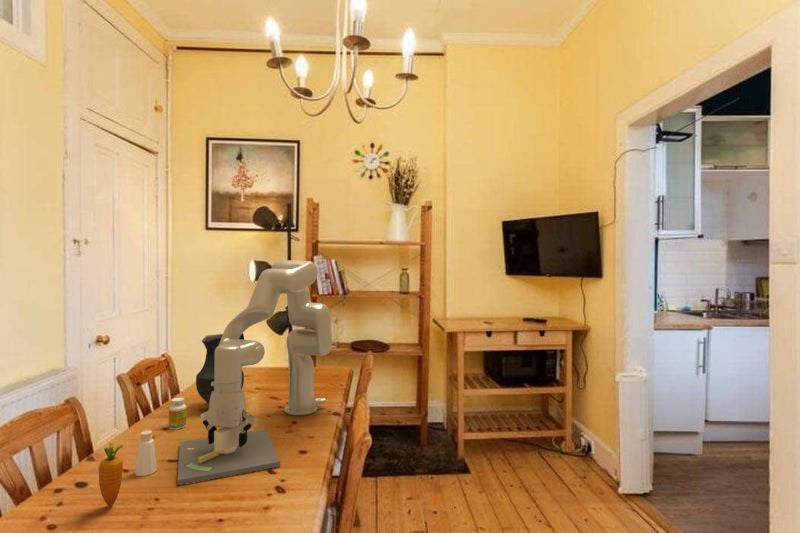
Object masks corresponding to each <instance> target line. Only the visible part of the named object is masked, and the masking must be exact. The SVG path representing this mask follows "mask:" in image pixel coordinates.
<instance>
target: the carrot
mask: <svg viewBox="0 0 800 533" xmlns="http://www.w3.org/2000/svg"><path fill="white" fill-rule="evenodd" d="M121 448H123V445H122V444H120V445H119V446H117V447H116V448H115V450H114V442H110V443H109V447H108V446H105V447H104V449H103V451H104V453H105V455H106V456H107V457H106V458H104V459H102V460H101V461H100V462H99V466H98V483H99V490H100V493H101V496H102V500H103V501H104V503H105V504H106V505H107V506H108V507H110V506H111V507H112V506H113V505H114V504H115V502H116V500H117V498H118V496H119V493H120V490H121V484H122V479H123V469H124V468H123V467H124V466H123V465H124V462H123V460H124V459H123V458H122V457H120V456H116V454H117V453H118V452H119V450H121Z"/></svg>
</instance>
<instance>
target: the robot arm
mask: <svg viewBox="0 0 800 533" xmlns="http://www.w3.org/2000/svg"><path fill="white" fill-rule="evenodd" d="M318 273H319V271H318V266H317V265H316V264H315V263H314V262H313V261H311V260H289V259H287V260H285V259H284V260H277V261H275V262H274V263H273V264H272V265H271V268H267V269H264V270H263V271H261V273H260V275H259V277H258V279H257V282H256V284H255V287H254V290H253V292H252V294H251V297H250V300H249V303H248V304H247V306H246V308H244V309H243V310H242V311H240V312H239V313H238V314H236V315H235V317H234V318H233V319H232V320H231V321H229V323H228V324H227V325H226V327H225V328H224V331H223V333H222V334H223V335H222V338H221V340H220V343H219V346H218V347H217V348H216V349H215V381H214V382H211V386H214V391H212V393H211V397H210V402H209V404H208V406H209V410H207V411H204V412H203V413H200V415H199V416H200V419H201V421H202V424H203V425H204V427H205V429H206V431H207V438H208V440H209V444H212V443H213V442H214V431H215V430H218V428H219V427H221V428H223V427H228V428H236V427H237V428H238V429H239V431H240V432H241V433H240V434H239V447H242V446H243V445H244V444H246V442H247V432H249V430H250V429H251V428H252V427H253V425H254V424H255V421H256V419H257V418H256V416H254V415H253V414H251V413H250V412H248V411H247V404H246V397H245V393H244V390H243V389H242V390H241V381H242V370H243V369H242V368H243V367H245V366H246V367H247V366H253V365H257V364H258V363H260V362H261V361H262V360H263V359H264V356H265V353H266V352H265V346H264V345H263V343H261V342H259V341H258V340H251V339H250V340H249V339H244V340H242V339H239V338H240V336H241V334H242V333H243V334H244V332H245V331H246V330H247V329H249V328H251V327H252V326H254V325H256V324H259V323H261V322H263V321H265V320H268V319H270V318H272V317H273V315H274V313H275V310H276V306H277V304H278V301H279V298H280V296H281V294H286V298H287V299H286V300H287V311H288V312H287V313H288V319H289V323H290V324H291V326H294V327H297V328H296V329H293V330H291V331H290V332H289V333H288V335H287V337H286V348H287V353H288V354H287V355H288V404H287V405H285V406H284V408H283V409H284V412H285V414H288V415H290V416H306V415H311V414H313V413H315V412H317V411H318V405H323V404H326V403H327V401H326V400H327V399H326V398H321V397H315V396H314V394H315V393H314V390H315V389H314V388H315V386H314V384H315V383H314V382H315V362H314V360H313V359H312V357H311V356H318V357H319V356H320V357H321V356H327V355H328V354H329V353H330V351H331V349H332V344H333V343H332V341H333V339H332V337H333V336H332V322H331V321H332V320H331V312H330V309H329V308H328V306H327V305H326V304H325V303H321V302H312V301H311V294H310V288H309V286H311V285H313V284H314V283H315V281H316V280H317V277H318ZM306 328H312V329H306ZM246 420H248V423H247V422H246ZM217 427H218V428H217Z"/></svg>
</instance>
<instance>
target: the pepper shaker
mask: <svg viewBox="0 0 800 533" xmlns="http://www.w3.org/2000/svg"><path fill="white" fill-rule="evenodd" d="M139 434H140V440H139V441H138V444H137V452H136V453H137V454H136V463H135V468H134V469H135V470H134V473H135V476H138V477H139V476H140V477H145V476H150V475H152V474H154V473H156V472H157V471H158V469H157V467H158V466H157V459H156V458H157V457H156V450H155V441H154V438H153V431H152V430H150V429H149V430H144V431H142V432H140V433H139Z"/></svg>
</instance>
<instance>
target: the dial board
mask: <svg viewBox="0 0 800 533" xmlns="http://www.w3.org/2000/svg"><path fill="white" fill-rule="evenodd" d="M213 451H214V442H213V443H212V444H209V440H208V437H205V438H197V439H191V440H190V439H189V440H184V441H183V440H182V441H179V449H178V463H177V464H178V465H177V466H178V468H177V484H176V485H181V486H184V485H183V484H186V485H188V484H187V483H191V484H194V483H193V482H197V483H199V482H198V481H202V482H204V481H203V480H207V481H209V480H208V479H213V478H218V479H220V478H219V477H223V478H226V477H225V476H229V477H231V476H230V475H234V476H237V475H236V474H239V475H243V474H242V473H245V474H248V473H247V472H250V473H253V472H252V471H256V472H259V471H258V470H261V471H264V470H263V469H266V470H270V469H269V468H272V469H275V468H274V467H277V468H280V467H281V461H280V458H279V456H278V454H277V452H276V450H275V447H274V444H273V442H272V440H271V438H270V435H269V433H268V431H267V429H259V430H251V431H247V442H246V444H244V445H243V446H242V447H239V446H237V447H236V451H235V452H233V453H231V454H220V453H219V455H218V456H216V457H213V458H211V459H209V460H207V461H205V462H202V463H199V462H198V458H199V457H201V456H204V455H206V454H208V453H210V452H213ZM213 480H214V479H213Z"/></svg>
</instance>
